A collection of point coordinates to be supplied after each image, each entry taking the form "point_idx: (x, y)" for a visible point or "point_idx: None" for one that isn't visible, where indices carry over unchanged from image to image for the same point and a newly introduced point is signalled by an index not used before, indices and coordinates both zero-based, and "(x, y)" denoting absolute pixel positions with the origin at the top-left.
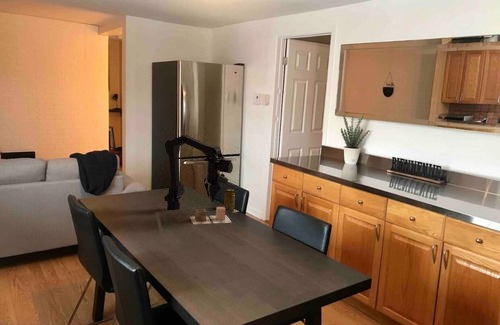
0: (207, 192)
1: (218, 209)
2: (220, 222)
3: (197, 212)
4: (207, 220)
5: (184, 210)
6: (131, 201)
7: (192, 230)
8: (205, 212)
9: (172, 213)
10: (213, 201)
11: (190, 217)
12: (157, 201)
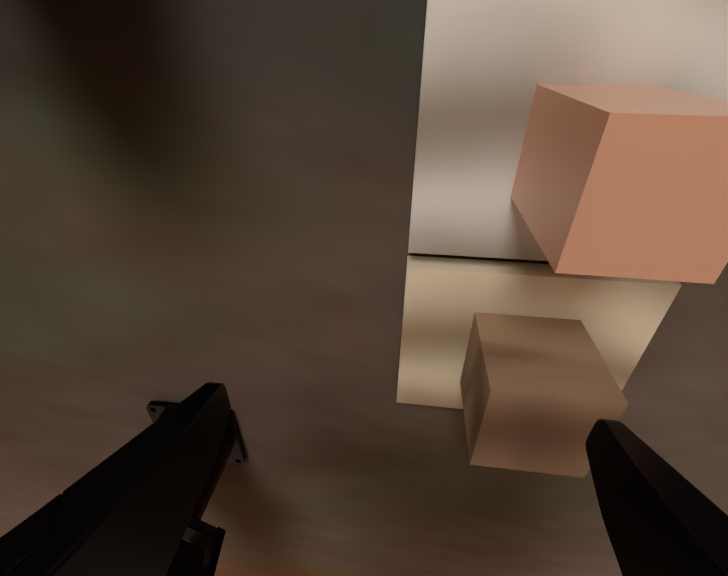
0: (190, 510)
1: (718, 272)
2: None
3: (586, 471)
4: (560, 303)
5: (181, 369)
6: None
7: (681, 427)
8: (619, 408)
9: (262, 440)
10: (617, 421)
11: (422, 401)
12: (24, 451)
